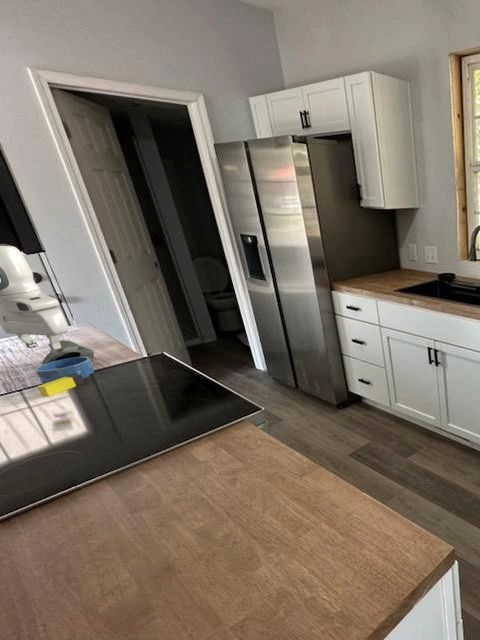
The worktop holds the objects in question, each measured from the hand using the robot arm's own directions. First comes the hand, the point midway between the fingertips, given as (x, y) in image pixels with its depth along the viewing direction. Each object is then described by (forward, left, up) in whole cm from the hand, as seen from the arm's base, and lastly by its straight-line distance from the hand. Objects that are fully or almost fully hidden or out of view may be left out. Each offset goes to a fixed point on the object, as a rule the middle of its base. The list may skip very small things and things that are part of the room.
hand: (44, 348), depth 120 cm
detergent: (+18, +25, -13) cm, 34 cm away
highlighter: (0, 0, -13) cm, 13 cm away
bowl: (+7, +9, -13) cm, 17 cm away
